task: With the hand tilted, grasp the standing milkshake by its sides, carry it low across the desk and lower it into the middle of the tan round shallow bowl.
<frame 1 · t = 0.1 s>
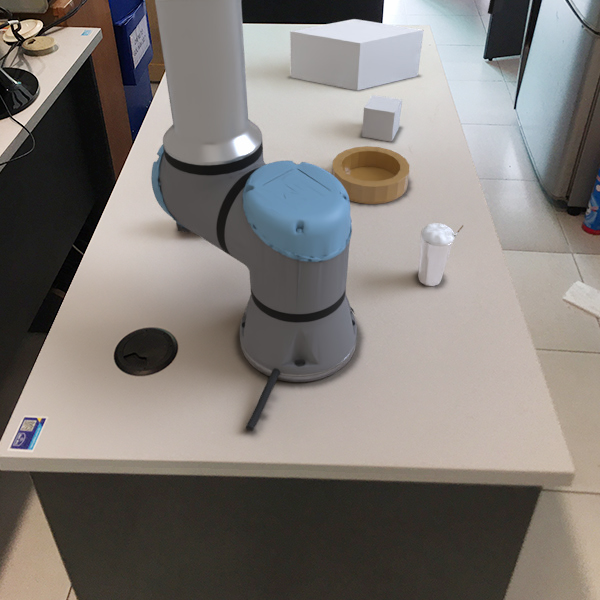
hand: (455, 1, 97), 28 cm above the table, tool pointing down, fingers open, 13 cm apart
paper: (354, 77, 144), on the table
tan round shallow bowl: (369, 182, 111), on the table
white cube: (380, 133, 124), on the table
milkshake: (432, 280, 92), on the table
flashlight: (228, 229, 101), on the table
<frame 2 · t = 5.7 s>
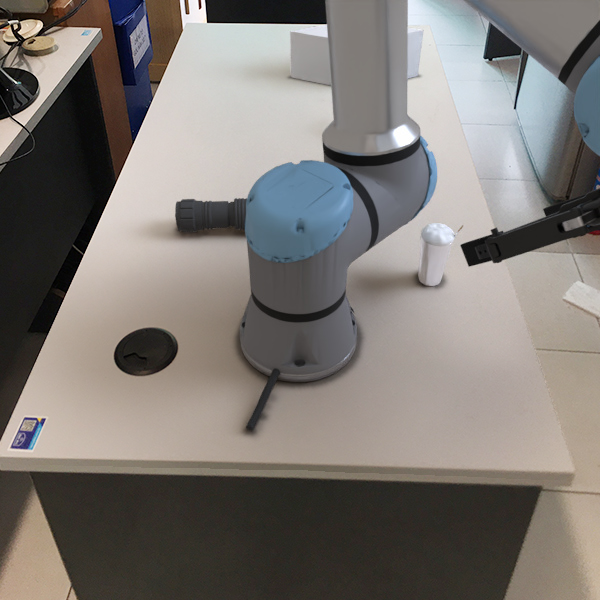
hand: (509, 235, 75), 15 cm above the table, tool tilted 45°, fingers open, 13 cm apart
nothing on the table moved.
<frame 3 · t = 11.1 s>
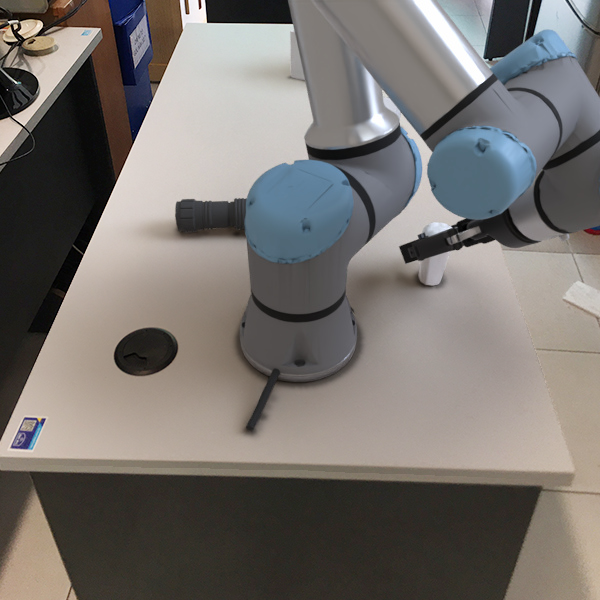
hand: (418, 248, 92), 3 cm above the table, tool tilted 45°, fingers closed on milkshake, 5 cm apart
milkshake: (432, 280, 92), on the table, touching gripper
everything else where it was.
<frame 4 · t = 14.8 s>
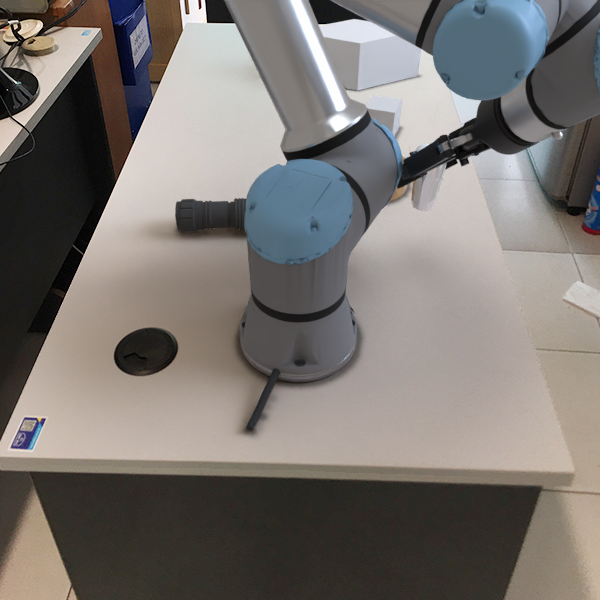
hand: (411, 173, 90), 12 cm above the table, tool tilted 45°, fingers closed on milkshake, 5 cm apart
milkshake: (425, 206, 90), point 9 cm above the table, touching gripper
everything else where it was.
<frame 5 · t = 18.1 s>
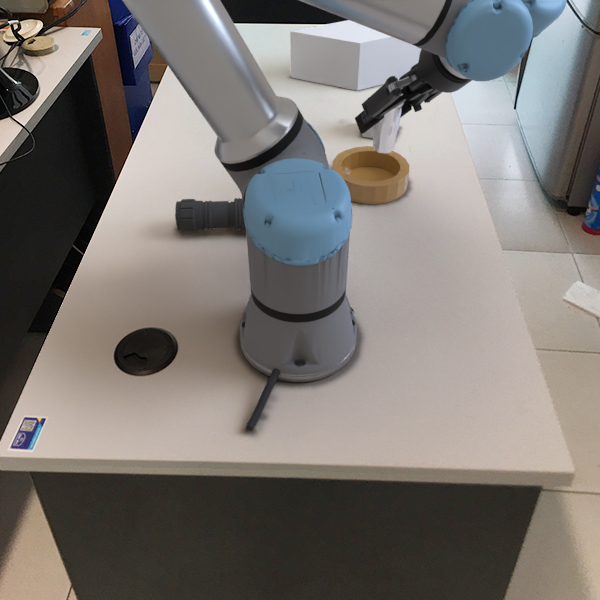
hand: (373, 121, 101), 12 cm above the table, tool tilted 45°, fingers closed on milkshake, 5 cm apart
milkshake: (385, 150, 101), point 9 cm above the table, touching gripper
everything else where it was.
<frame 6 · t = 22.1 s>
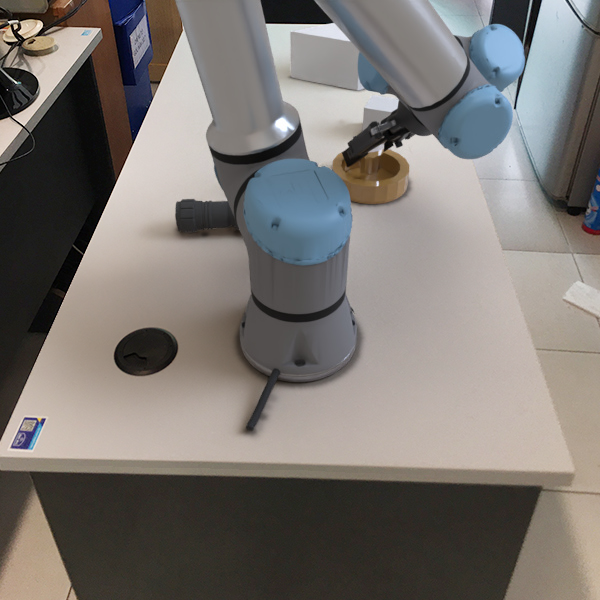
hand: (358, 155, 110), 4 cm above the table, tool tilted 45°, fingers closed on milkshake, 5 cm apart
milkshake: (370, 181, 110), on the table, touching gripper
everything else where it was.
when the fingers open (4 cm above the table, at t = 25.4 s): milkshake stays where it is, resting on tan round shallow bowl.
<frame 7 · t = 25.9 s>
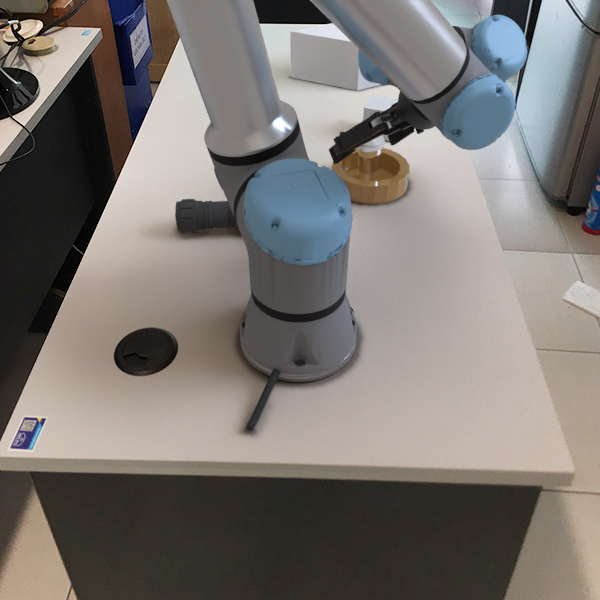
hand: (362, 147, 108), 6 cm above the table, tool tilted 45°, fingers open, 11 cm apart
milkshake: (369, 182, 110), resting on tan round shallow bowl
everything else where it was.
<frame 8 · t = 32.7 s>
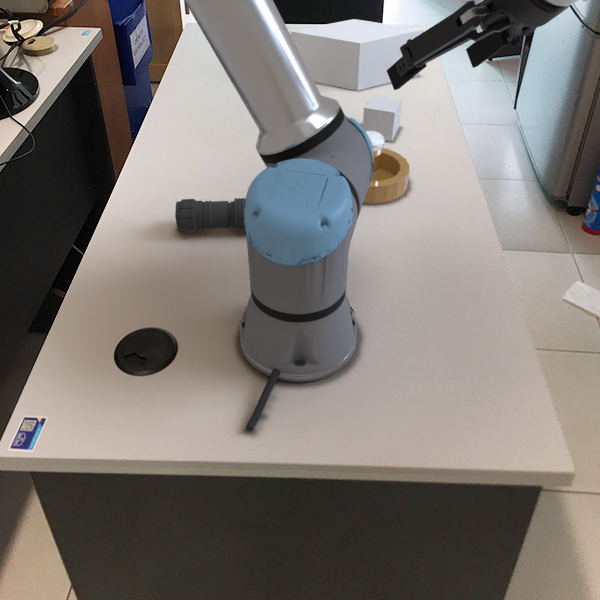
hand: (433, 68, 84), 26 cm above the table, tool tilted 45°, fingers open, 13 cm apart
nothing on the table moved.
at the end: milkshake 0.1 cm off-centre in the tan round shallow bowl, point 0.1 cm above the tan round shallow bowl's base; milkshake tilted 0°; the gripper is holding nothing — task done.
